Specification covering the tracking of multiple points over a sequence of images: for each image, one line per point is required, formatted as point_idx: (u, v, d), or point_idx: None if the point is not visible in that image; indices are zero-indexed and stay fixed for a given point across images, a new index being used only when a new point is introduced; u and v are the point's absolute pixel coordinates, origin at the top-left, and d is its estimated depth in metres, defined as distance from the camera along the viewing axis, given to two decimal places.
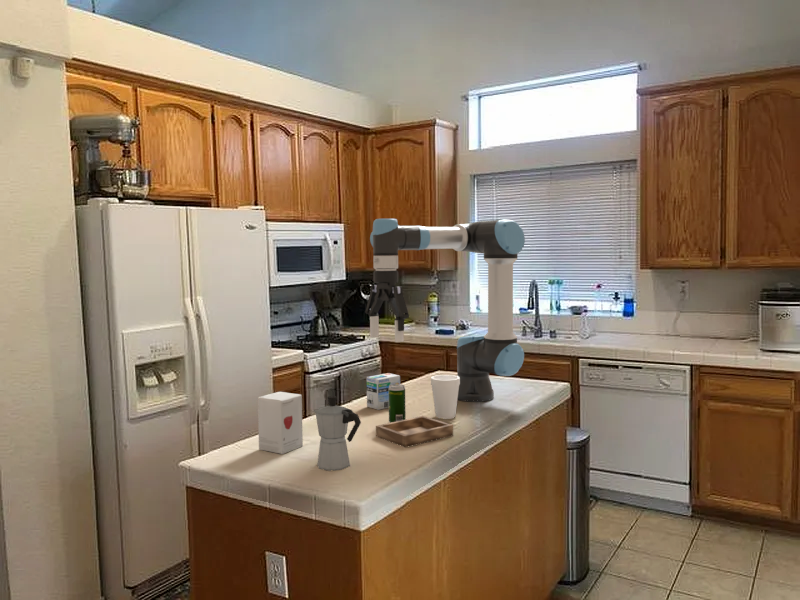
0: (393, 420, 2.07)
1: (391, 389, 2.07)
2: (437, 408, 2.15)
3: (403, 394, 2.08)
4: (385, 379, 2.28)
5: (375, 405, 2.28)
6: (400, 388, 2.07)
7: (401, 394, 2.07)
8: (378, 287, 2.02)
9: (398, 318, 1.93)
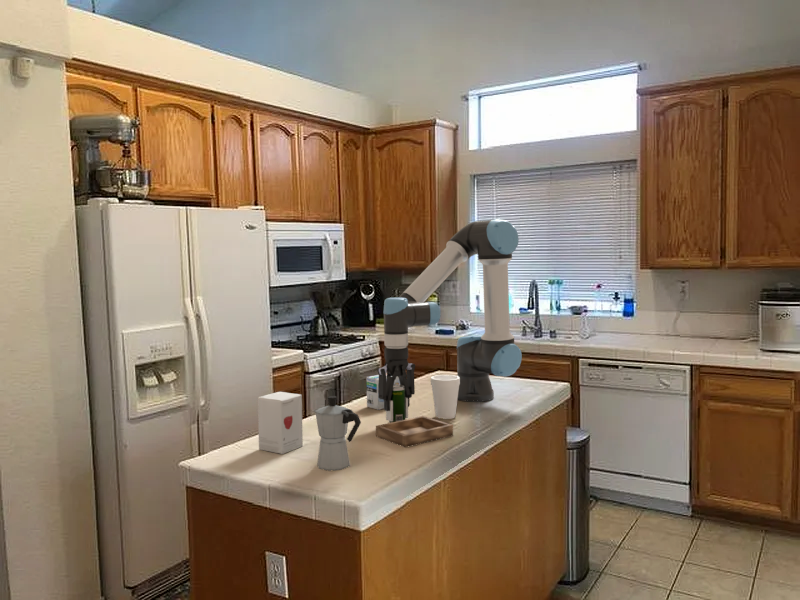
0: (393, 420, 2.07)
1: None
2: (437, 408, 2.15)
3: (403, 394, 2.08)
4: None
5: (375, 405, 2.28)
6: (400, 388, 2.07)
7: (401, 394, 2.07)
8: None
9: None
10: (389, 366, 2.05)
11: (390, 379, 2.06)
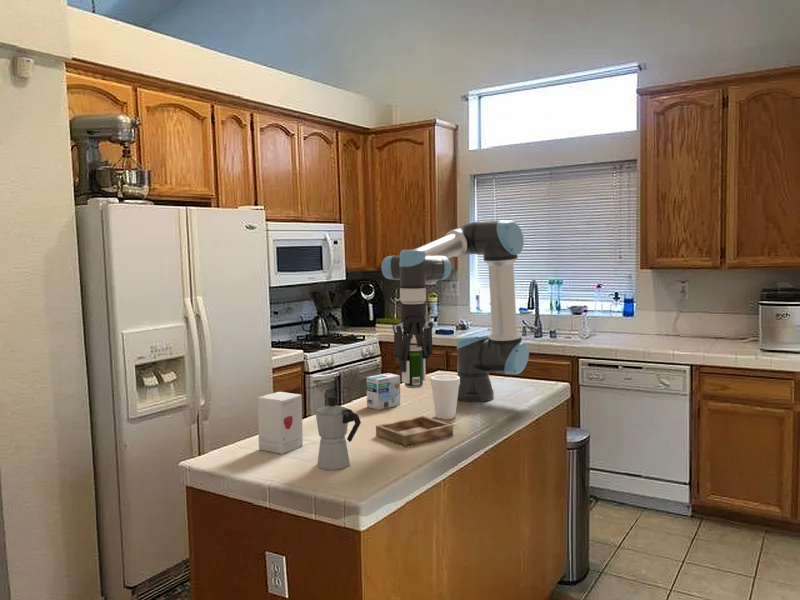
0: (409, 383, 1.91)
1: None
2: (437, 408, 2.15)
3: (420, 355, 1.92)
4: (385, 379, 2.28)
5: (375, 405, 2.28)
6: (417, 348, 1.91)
7: (418, 355, 1.91)
8: None
9: None
10: (405, 323, 1.89)
11: (406, 337, 1.90)
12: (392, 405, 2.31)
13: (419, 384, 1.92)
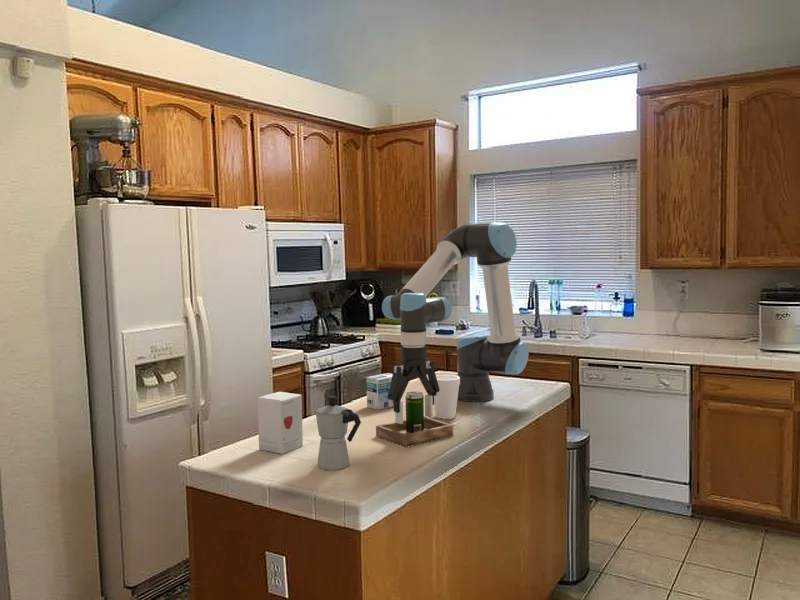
0: (411, 430, 1.93)
1: (409, 397, 1.92)
2: (437, 408, 2.15)
3: (421, 402, 1.93)
4: (385, 379, 2.28)
5: (375, 405, 2.28)
6: (418, 396, 1.92)
7: (420, 403, 1.92)
8: None
9: None
10: (406, 366, 1.90)
11: (404, 379, 1.91)
12: (392, 405, 2.31)
13: None
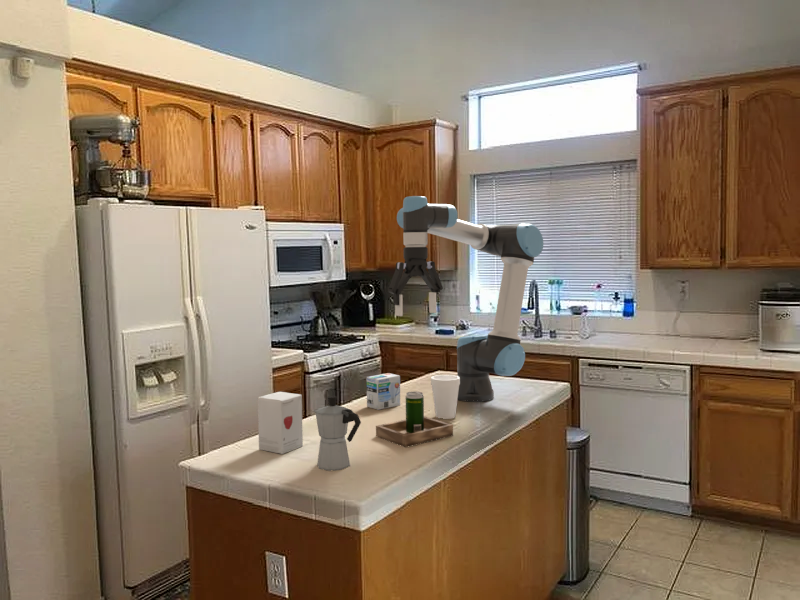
0: (411, 430, 1.93)
1: (409, 397, 1.92)
2: (437, 408, 2.15)
3: (421, 402, 1.93)
4: (385, 379, 2.28)
5: (375, 405, 2.28)
6: (418, 396, 1.92)
7: (420, 403, 1.92)
8: None
9: (392, 292, 2.02)
10: (409, 264, 2.03)
11: (406, 275, 2.03)
12: (392, 405, 2.31)
13: None
